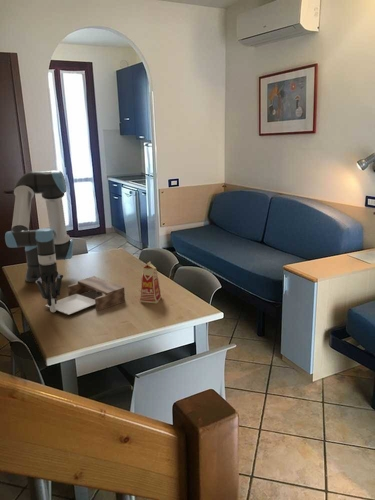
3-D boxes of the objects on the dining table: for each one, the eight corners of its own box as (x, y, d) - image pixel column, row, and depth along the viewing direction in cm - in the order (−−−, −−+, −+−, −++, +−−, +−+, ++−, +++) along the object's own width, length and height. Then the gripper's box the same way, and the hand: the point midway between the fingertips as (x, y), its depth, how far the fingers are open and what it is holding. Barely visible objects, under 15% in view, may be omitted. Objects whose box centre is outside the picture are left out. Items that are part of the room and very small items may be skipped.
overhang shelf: (97, 310, 193) (96, 296, 191) (68, 296, 211) (67, 283, 209) (125, 301, 204) (124, 287, 202) (95, 288, 222) (94, 276, 220)
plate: (69, 318, 186) (68, 314, 185) (45, 308, 197) (44, 304, 196) (100, 305, 200) (100, 301, 199) (76, 297, 211) (76, 293, 210)
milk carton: (156, 303, 201) (155, 264, 195) (138, 302, 203) (136, 263, 197) (161, 296, 209) (160, 258, 204) (144, 295, 211) (142, 258, 206)
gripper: (37, 267, 178) (43, 317, 184) (64, 261, 187) (69, 309, 193) (30, 264, 183) (35, 313, 189) (56, 258, 192) (61, 305, 198)
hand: (52, 311), depth 191 cm, fingers closed
